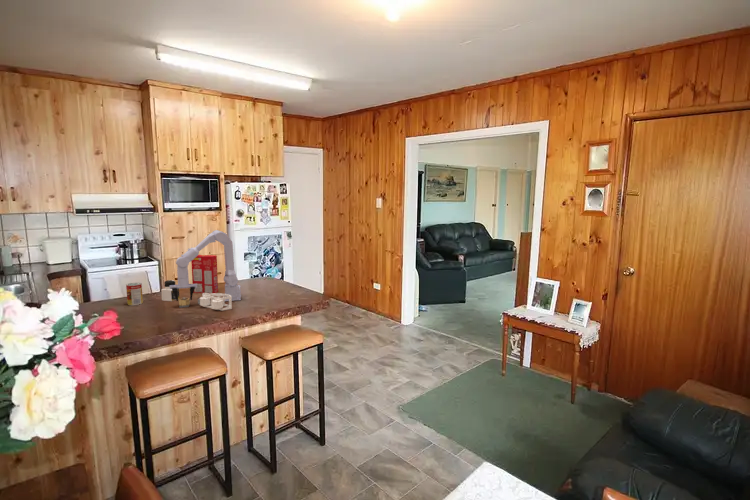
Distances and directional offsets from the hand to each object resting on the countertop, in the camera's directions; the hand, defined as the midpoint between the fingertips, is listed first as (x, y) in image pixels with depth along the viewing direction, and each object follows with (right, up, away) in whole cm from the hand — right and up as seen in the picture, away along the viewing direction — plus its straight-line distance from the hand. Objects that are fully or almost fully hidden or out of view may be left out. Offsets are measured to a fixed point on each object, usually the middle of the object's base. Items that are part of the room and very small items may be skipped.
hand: (184, 300), depth 236 cm
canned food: (-31, -3, +4) cm, 32 cm away
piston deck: (0, -3, 0) cm, 3 cm away
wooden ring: (0, -2, 0) cm, 2 cm away
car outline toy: (+19, -4, -1) cm, 19 cm away
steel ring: (+8, -3, +7) cm, 11 cm away
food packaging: (-1, +1, +32) cm, 32 cm away
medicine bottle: (-15, -2, +14) cm, 21 cm away
